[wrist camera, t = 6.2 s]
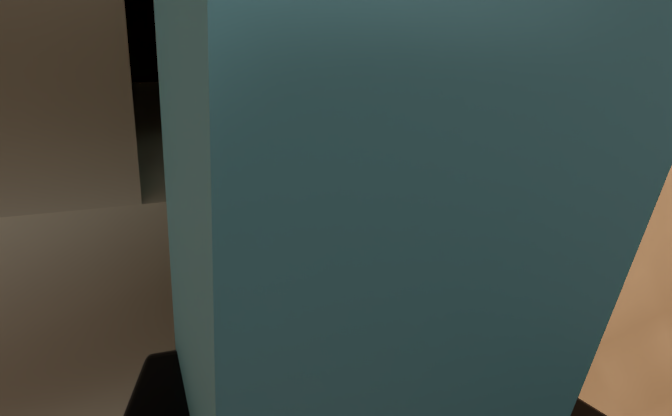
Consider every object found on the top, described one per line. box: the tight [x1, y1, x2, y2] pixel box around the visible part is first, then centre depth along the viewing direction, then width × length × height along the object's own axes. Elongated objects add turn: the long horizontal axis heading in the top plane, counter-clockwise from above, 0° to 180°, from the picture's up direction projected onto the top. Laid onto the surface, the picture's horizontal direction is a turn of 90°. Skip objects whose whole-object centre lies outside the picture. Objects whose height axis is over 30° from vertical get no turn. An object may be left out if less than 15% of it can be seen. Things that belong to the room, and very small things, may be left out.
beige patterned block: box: [0, 0, 176, 416], centre depth 11 cm, size 18×8×4 cm, turn 174°
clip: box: [154, 0, 672, 416], centre depth 8 cm, size 13×3×6 cm, turn 174°
